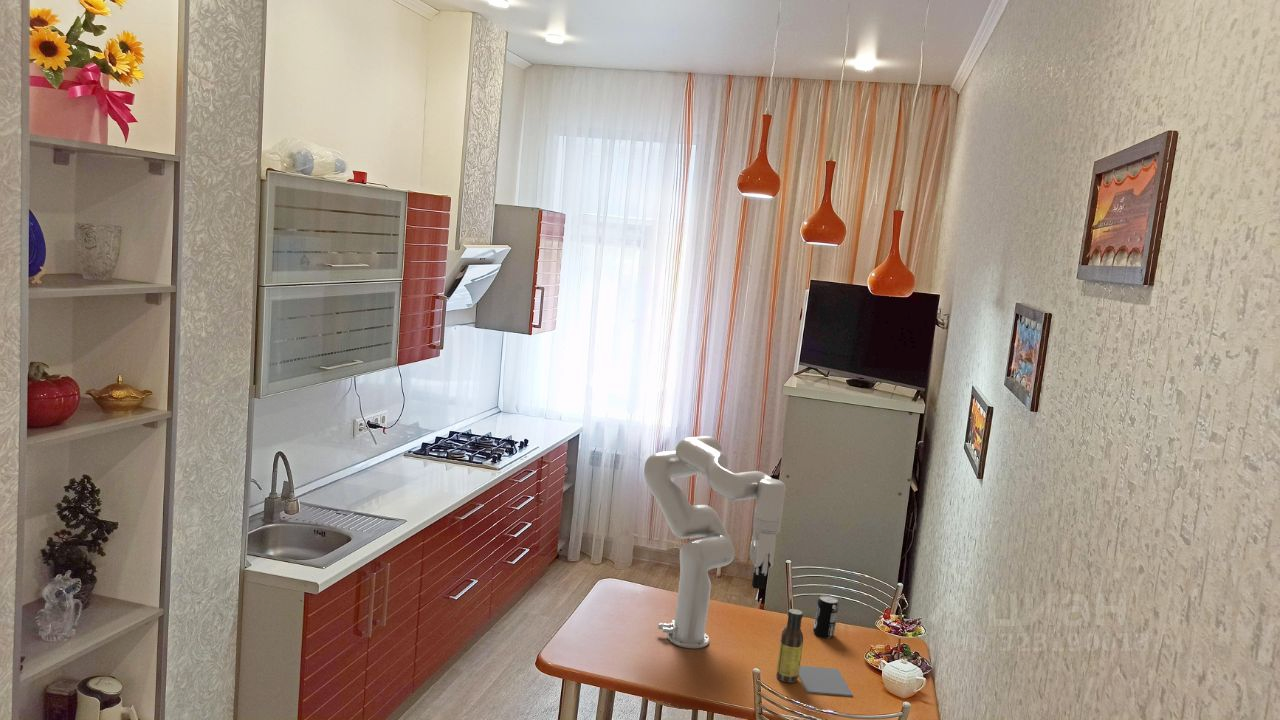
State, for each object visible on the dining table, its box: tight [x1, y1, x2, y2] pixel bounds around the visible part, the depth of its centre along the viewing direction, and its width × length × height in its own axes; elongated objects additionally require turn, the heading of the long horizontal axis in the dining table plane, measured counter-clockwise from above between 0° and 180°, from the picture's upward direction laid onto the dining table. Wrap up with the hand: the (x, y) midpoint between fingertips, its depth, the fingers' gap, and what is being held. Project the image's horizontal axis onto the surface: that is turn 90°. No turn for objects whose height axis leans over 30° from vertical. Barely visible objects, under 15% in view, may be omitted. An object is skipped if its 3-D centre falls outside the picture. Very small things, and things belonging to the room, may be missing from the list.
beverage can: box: [813, 594, 839, 639], centre depth 292 cm, size 7×7×12 cm
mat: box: [798, 665, 854, 697], centre depth 261 cm, size 13×15×1 cm
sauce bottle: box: [775, 608, 804, 683], centre depth 259 cm, size 6×6×20 cm
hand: (758, 587), depth 256 cm, fingers closed
